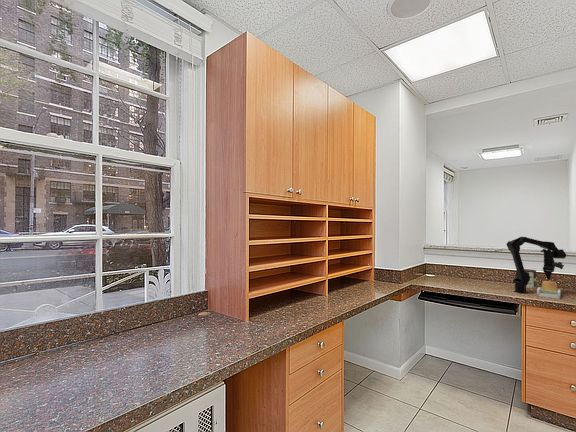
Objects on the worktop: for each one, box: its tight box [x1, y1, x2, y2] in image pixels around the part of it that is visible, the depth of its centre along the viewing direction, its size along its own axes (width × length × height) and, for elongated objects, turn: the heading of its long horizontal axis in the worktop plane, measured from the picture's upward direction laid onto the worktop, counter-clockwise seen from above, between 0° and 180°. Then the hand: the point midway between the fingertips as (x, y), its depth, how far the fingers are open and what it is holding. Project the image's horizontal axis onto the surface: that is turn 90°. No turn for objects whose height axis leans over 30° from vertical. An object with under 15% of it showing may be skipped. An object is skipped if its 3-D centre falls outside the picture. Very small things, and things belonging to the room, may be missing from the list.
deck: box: [536, 286, 562, 300], centre depth 226 cm, size 28×12×4 cm, turn 137°
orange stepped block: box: [541, 280, 558, 291], centre depth 230 cm, size 6×8×6 cm
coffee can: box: [524, 268, 538, 289], centre depth 253 cm, size 10×10×14 cm
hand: (549, 278), depth 230 cm, fingers open, 9 cm apart
